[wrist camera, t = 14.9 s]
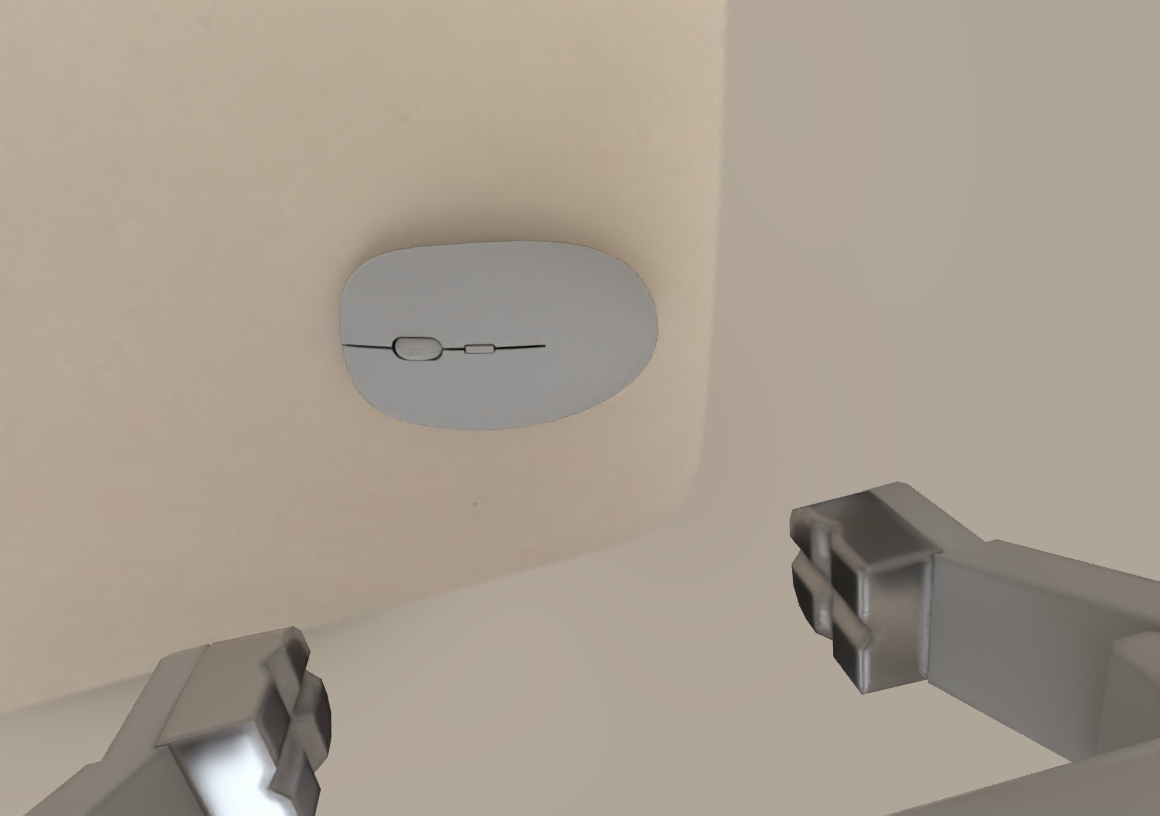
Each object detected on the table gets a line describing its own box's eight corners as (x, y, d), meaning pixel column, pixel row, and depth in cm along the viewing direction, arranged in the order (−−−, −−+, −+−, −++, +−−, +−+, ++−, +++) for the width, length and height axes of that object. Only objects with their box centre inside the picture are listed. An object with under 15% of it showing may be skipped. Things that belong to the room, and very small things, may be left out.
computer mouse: (331, 243, 21) (312, 258, 18) (642, 225, 22) (668, 236, 20) (361, 420, 23) (347, 457, 20) (643, 393, 25) (666, 425, 22)
